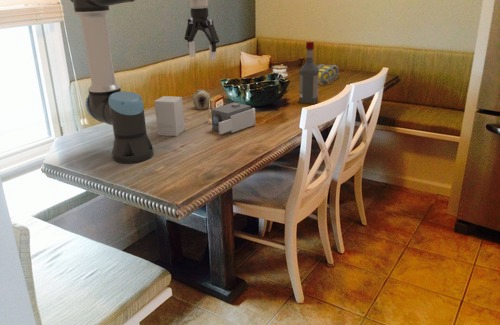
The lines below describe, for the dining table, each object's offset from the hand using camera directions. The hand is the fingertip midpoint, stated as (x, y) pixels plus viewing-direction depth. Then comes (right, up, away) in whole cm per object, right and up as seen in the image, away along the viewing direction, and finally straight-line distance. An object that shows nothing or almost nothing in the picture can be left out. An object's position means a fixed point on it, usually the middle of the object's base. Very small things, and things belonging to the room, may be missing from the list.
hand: (202, 57), depth 199 cm
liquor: (+52, -15, +34) cm, 63 cm away
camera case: (+13, -31, -2) cm, 34 cm away
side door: (+16, -33, -8) cm, 37 cm away
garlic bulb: (-3, -19, +28) cm, 34 cm away
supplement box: (-12, -34, -7) cm, 37 cm away
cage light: (+66, +4, +78) cm, 102 cm away
